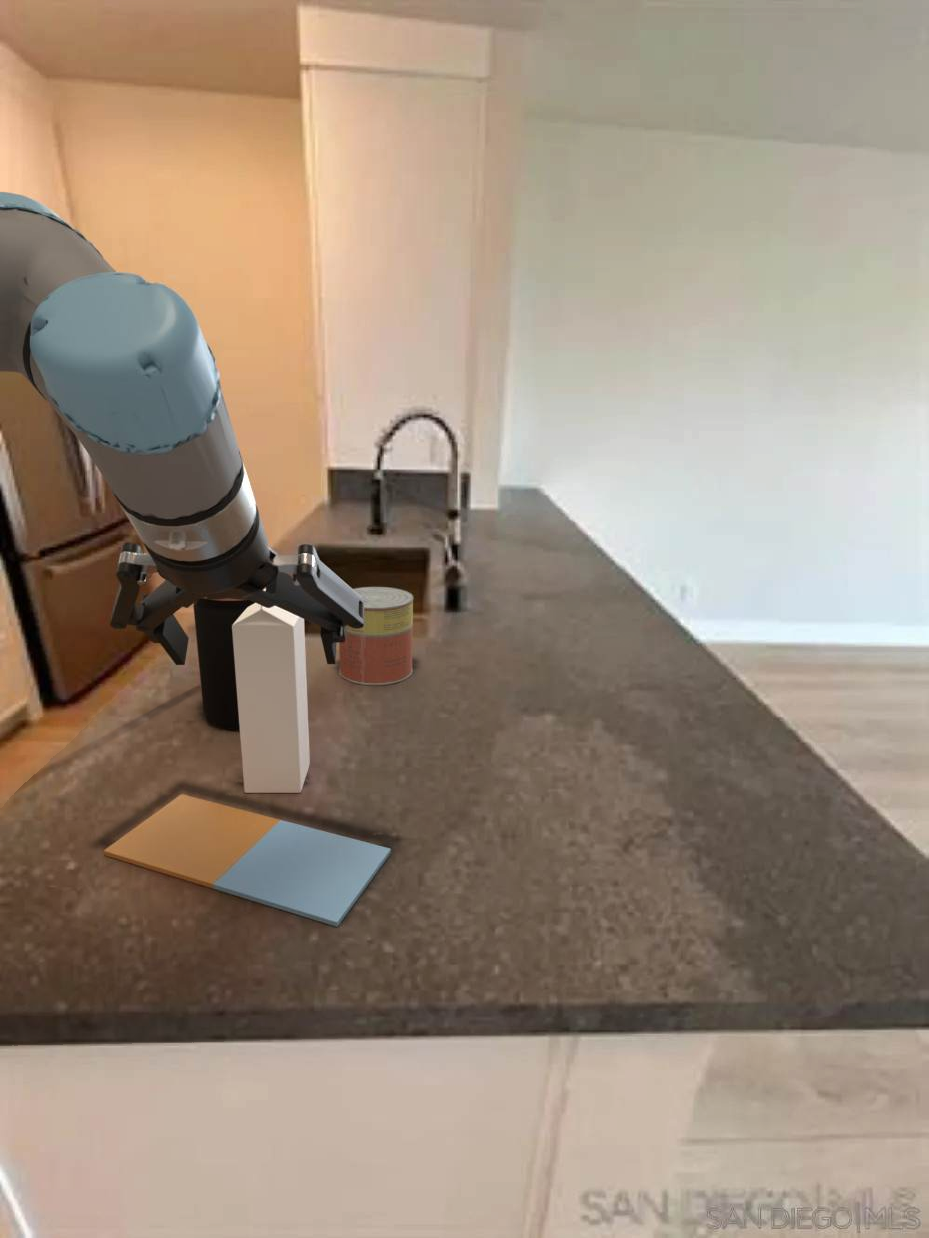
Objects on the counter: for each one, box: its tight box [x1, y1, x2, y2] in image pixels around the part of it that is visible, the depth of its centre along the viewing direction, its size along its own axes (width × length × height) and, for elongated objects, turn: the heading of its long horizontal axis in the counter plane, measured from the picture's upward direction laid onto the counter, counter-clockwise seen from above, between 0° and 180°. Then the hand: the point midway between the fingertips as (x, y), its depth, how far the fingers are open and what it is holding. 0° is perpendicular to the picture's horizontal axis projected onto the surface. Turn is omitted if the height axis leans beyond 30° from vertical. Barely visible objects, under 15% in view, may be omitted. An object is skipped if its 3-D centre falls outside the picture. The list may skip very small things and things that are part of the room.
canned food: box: [338, 586, 415, 687], centre depth 102 cm, size 11×11×12 cm
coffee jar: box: [192, 587, 266, 731], centre depth 86 cm, size 11×11×18 cm
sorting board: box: [103, 793, 392, 928], centre depth 62 cm, size 24×10×1 cm, turn 70°
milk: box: [232, 588, 311, 794], centre depth 71 cm, size 6×6×22 cm
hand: (258, 651), depth 63 cm, fingers open, 13 cm apart
